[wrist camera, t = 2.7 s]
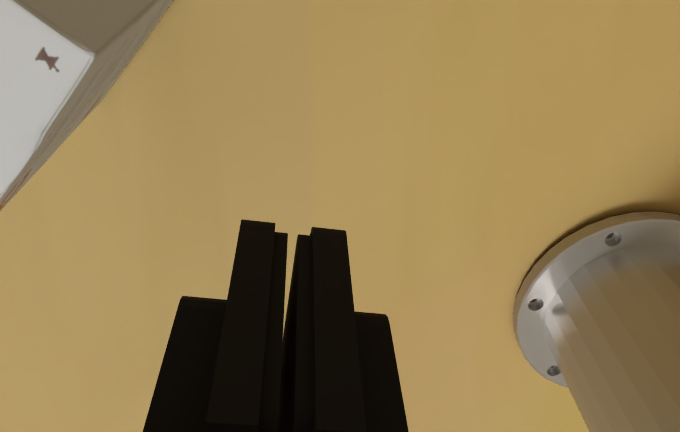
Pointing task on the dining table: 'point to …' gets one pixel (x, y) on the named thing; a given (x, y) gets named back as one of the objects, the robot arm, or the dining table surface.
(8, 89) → the small box
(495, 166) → the dining table surface
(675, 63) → the dining table surface
